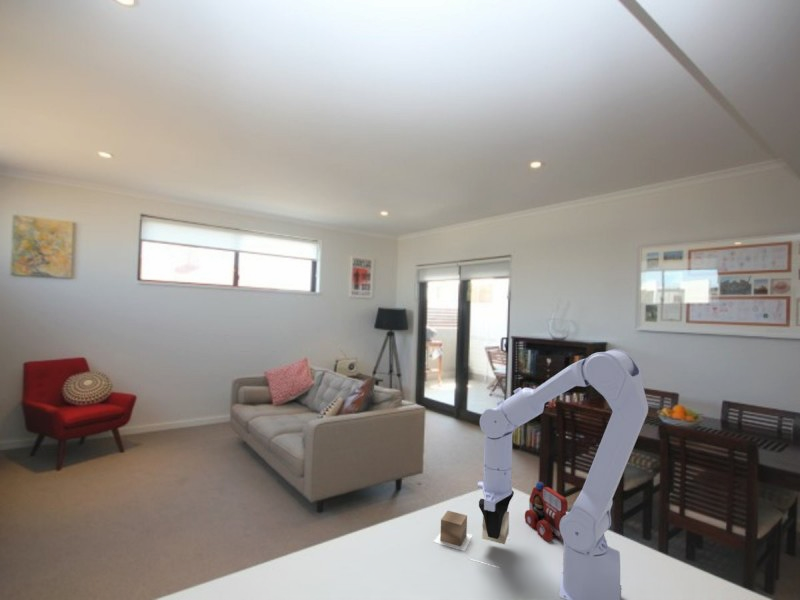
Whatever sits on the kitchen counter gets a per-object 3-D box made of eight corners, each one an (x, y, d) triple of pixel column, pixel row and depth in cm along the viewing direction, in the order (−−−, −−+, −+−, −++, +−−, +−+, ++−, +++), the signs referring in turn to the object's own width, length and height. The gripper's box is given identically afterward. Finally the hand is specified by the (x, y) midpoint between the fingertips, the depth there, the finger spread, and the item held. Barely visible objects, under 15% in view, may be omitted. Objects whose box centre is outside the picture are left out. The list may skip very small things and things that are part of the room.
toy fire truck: (544, 517, 102) (545, 474, 102) (578, 545, 90) (579, 497, 90) (519, 519, 100) (520, 476, 101) (550, 549, 88) (551, 500, 89)
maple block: (508, 533, 88) (509, 511, 88) (504, 544, 83) (505, 521, 84) (487, 528, 89) (487, 507, 89) (482, 538, 85) (482, 516, 85)
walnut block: (466, 535, 91) (467, 515, 91) (460, 546, 87) (461, 524, 87) (446, 530, 93) (447, 510, 93) (440, 540, 89) (440, 519, 89)
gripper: (486, 451, 95) (485, 511, 95) (469, 473, 82) (467, 543, 82) (518, 457, 92) (516, 518, 92) (505, 481, 79) (504, 553, 79)
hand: (496, 531), depth 86 cm, fingers closed on maple block, 4 cm apart
